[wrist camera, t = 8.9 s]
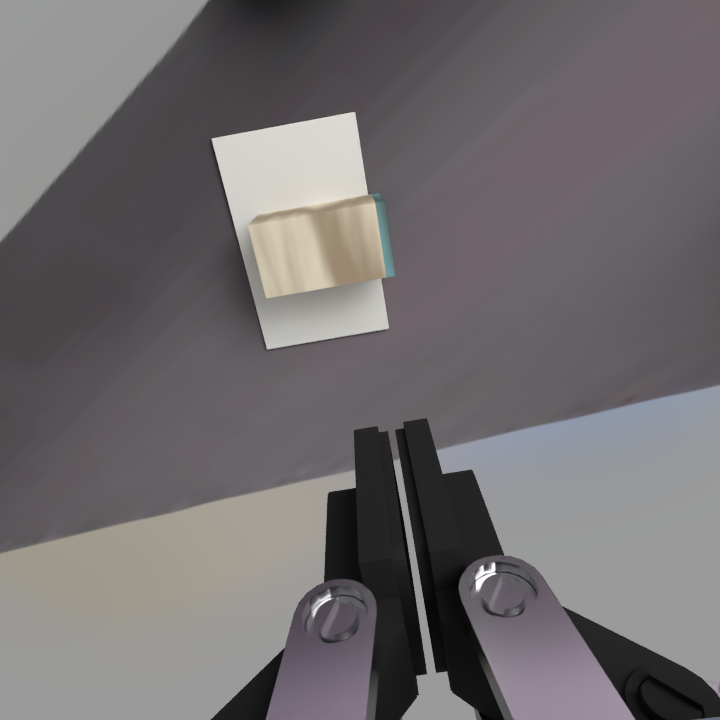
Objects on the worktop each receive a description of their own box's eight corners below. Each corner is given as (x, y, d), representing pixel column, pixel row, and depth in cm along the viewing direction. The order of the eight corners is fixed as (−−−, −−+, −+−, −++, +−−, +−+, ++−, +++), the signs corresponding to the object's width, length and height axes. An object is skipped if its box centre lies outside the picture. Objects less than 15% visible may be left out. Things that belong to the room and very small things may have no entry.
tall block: (384, 201, 34) (247, 225, 34) (395, 275, 36) (266, 298, 36) (379, 192, 38) (257, 214, 39) (389, 260, 40) (273, 280, 41)
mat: (354, 112, 36) (354, 112, 36) (388, 327, 43) (388, 328, 43) (212, 138, 37) (211, 138, 36) (267, 348, 43) (267, 349, 43)
